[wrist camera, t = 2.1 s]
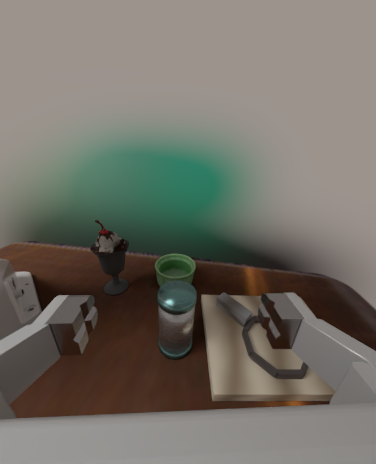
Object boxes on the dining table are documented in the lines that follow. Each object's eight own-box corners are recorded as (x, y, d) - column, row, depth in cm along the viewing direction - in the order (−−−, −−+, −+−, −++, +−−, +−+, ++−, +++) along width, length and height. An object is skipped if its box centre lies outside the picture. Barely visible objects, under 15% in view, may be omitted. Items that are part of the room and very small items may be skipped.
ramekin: (171, 301, 36) (172, 283, 34) (147, 278, 42) (146, 262, 40) (202, 282, 42) (204, 266, 40) (177, 264, 48) (177, 249, 46)
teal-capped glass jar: (153, 336, 29) (151, 287, 25) (181, 322, 32) (183, 276, 28) (168, 367, 25) (168, 315, 21) (198, 348, 28) (204, 299, 24)
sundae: (98, 281, 40) (85, 216, 34) (129, 273, 43) (123, 213, 37) (99, 302, 35) (85, 231, 28) (135, 292, 38) (129, 225, 31)
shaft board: (212, 401, 22) (215, 385, 21) (200, 300, 37) (202, 286, 35) (370, 400, 23) (384, 385, 22) (297, 302, 37) (303, 289, 36)
